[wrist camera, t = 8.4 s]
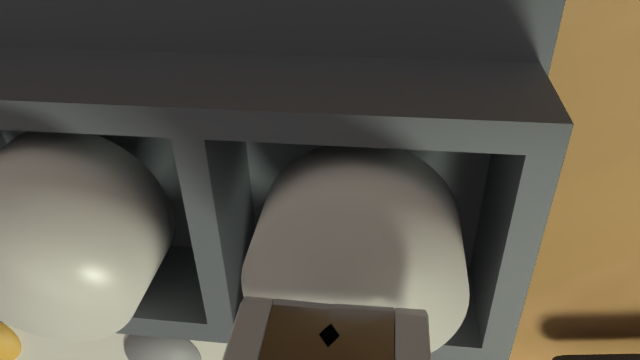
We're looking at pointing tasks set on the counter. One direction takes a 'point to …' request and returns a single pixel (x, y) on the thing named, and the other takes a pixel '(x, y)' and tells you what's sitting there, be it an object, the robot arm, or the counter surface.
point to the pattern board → (294, 133)
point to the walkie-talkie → (599, 357)
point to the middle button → (77, 234)
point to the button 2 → (362, 236)
